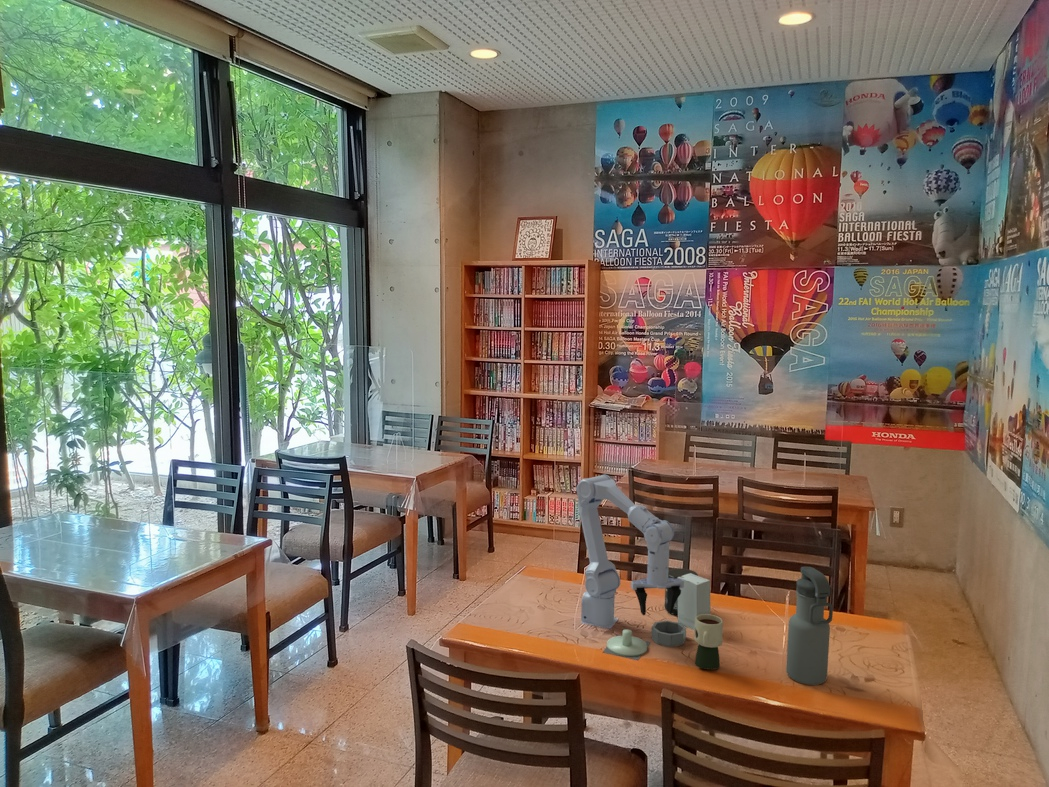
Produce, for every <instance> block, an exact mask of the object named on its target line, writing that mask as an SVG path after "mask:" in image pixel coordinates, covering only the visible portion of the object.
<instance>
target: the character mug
mask: <svg viewBox="0 0 1049 787" xmlns="http://www.w3.org/2000/svg"><path fill="white" fill-rule="evenodd" d="M723 629H724V620H723V618H721V617H720V616H718V615H714V614H711V613H710V614H701V615H697V616H696V617H695V630H694V641H695V643H697V644H698V646H697V650H696V653H695V660H694V661H695V662H694V664H695V665H696V667H697V668H699V669H704V670H717V669H719V668H720V665H721V664H720V651H719V647H721V646H722V644H723V635H724V633H723V632H724V630H723Z"/></svg>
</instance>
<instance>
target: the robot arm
mask: <svg viewBox="0 0 1049 787" xmlns="http://www.w3.org/2000/svg"><path fill="white" fill-rule="evenodd" d="M575 489H576V496H577V507H578V508H577V509H578V512H579V517H580V520H581V526H582V532H583V537H584V540H585V545H586V551H587V555H588V561H589V564H588V566H587V567H586V569H585V571H584V574H585V576H584V577H585V581H584V585H585V586H584V587H585V589H586V590H585V591H584V593H583V594H582V598H581V612H580V613H581V615H580V616H581V618H580V619H581V620H580V624H585V625H589V626H593V627H600V628H603V629H608V630H610V629H611V628H613V626H614V625H615V624H616V623H617V621H618V620H619V618H618V617H615V594H617V590H618V589H619V588H620V586H621V577H620V575H619V573H618V571H617V569H616V565H615V563H613V562H611V561H610V560H609V558H608V557H609V556H608V554H607V553H608V552H607V548H606V544H605V539H604V534H603V529H602V525H601V521H600V515H599V510H598V508H599V506H600V504H601V503H602V502H603V501H605V500H606V501H607V500H608V501H609V502H610V503H612V504H613V505H614V506H615V507H617V508H619V510H621V511H623V512H624V513H625V514H627V521H628V522H630V524H632V525H633V526H634V527H635V528H637V530H639V531H640V532H641V533H642V534H643V537H644V539H645V542H646V548H647V566H646V568H647V571H646V578H642V579H636V580H631V581H630V588H631V589H632V590H633V591H634V592H635V595H636V597H637V600H638V605H639V608H640V613H641V615H642V616H646V613H647V607H646V606H647V605H646V604H647V598H648V597H647V596H648V593H647V592H646V591H647V590H646V589H659V590H660V589H661V590H663V589H664V590H665V588H667V595H668V601H667V610H666V611H667V612H668V613H669V614H670V615H673V614H672V611H673V608H674V605H675V603H676V600H677V599H678V597H679V596H680V594H681V590H680V588H684V581H683V580H682V579H674V578H668V571H669V570H670V568H669V567H670V566H669V565H670V541H672V540H673V539H674V536H675V530H674V527H673V526H672V524H671V523H670V521H668V520H664V519H663V520H662V519H659V517H657V516H655V515H654V514H653V513H652V512H650V511H649V510H648V507H647V506H645V505H642V504H637V505H636V504H635V503H634V502H633V501H632V500H631V499H630V498H629V497H628V496H627V495H626V494H624V492H623V491H622V490H621V489H620V488H618V486H617V483H616V481H615V479H612V477H610V476H609V475H608V474H601V475H597V476H593V477H587V478H582V479H580V481H579V482H578V484H577V486H576V487H575Z"/></svg>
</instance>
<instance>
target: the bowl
mask: <svg viewBox="0 0 1049 787" xmlns="http://www.w3.org/2000/svg"><path fill="white" fill-rule="evenodd" d="M650 629H651V634H650V636H651V638H652V641H653V642H654V643H656V644H658V645H660V646H662V647H663V646H664V647H668V648H669V647H670V648H671V647H673V648H674V647H676V648H677V647H680V646H682V645H684V644H685V641H686V639H687V627H684V626H683V625H681V624H680V623H678V621H677V622H676V621H673V620H671V621H670V620H660V621H655V622H654V623H653V624H652V626H651V628H650Z"/></svg>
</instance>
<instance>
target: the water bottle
mask: <svg viewBox="0 0 1049 787" xmlns="http://www.w3.org/2000/svg"><path fill="white" fill-rule="evenodd" d="M800 574H801V578H799V579H797V580H796V588H795V589H796V590H795V594H796V603H795V604H796V606H795V607H796V608H795V613H794V614H792V615H791V616H790V617H789V619H788V629H787V630H788V631H787V647H786V651H787V652H786V665H785V671H786V674H787V676H788V677H789V678H790V679H791V680H793V681H795V682H797V683H800V684H803V685H806V686H807V685H808V686H819V685H821V684H823V683H825V682H826V681H827V678H828V666H829V652H830V651H829V650H830V648H829V647H830V636H831V635H830V634H831V626H830V623H831V622H832V621H833V614H834V613H833V612H834V606H833V604H832V603H830V602H828V601H827V600H828V598H829V597H830V596H831V587H830V582H829V581H828V579H827V576H826V575H825V574H824V573H823V572H821V571H820V570H818V569H816V568H815V567H812V566H801V567H800ZM825 607H828V618H827V619H825V617H824V615H825V612H824V611H825Z"/></svg>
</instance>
